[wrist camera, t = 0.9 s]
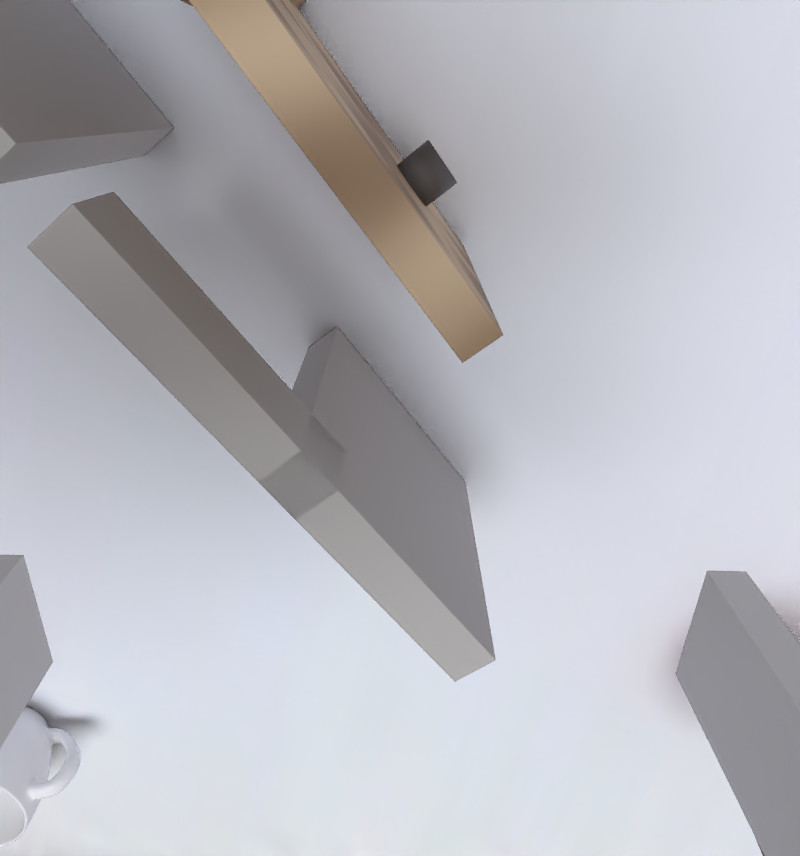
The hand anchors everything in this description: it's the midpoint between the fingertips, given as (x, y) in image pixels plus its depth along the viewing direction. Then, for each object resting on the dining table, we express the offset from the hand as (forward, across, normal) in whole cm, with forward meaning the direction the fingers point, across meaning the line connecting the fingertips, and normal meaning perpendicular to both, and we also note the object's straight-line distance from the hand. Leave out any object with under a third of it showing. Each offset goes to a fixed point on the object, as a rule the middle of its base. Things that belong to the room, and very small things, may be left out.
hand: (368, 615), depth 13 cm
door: (+23, -1, +9) cm, 25 cm away
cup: (+24, -25, -33) cm, 48 cm away
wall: (+24, -6, +1) cm, 24 cm away
